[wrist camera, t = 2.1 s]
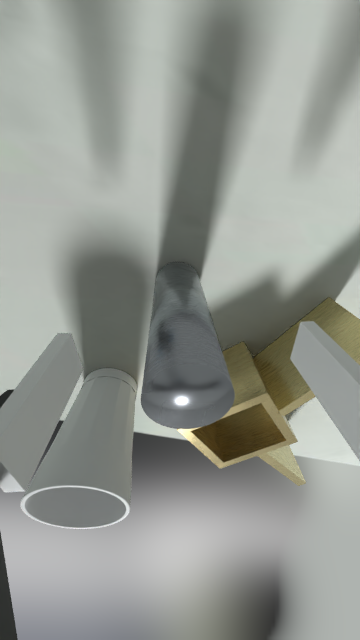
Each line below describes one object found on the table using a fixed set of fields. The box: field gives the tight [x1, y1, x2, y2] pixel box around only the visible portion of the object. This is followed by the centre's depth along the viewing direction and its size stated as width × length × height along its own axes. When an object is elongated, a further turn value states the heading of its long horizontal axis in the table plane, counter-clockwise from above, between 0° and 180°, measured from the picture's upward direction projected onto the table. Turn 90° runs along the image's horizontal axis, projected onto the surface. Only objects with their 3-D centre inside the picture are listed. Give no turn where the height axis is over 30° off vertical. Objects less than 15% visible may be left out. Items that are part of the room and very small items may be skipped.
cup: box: [20, 368, 137, 529], centre depth 22 cm, size 8×8×12 cm
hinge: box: [177, 297, 360, 486], centre depth 26 cm, size 19×18×7 cm
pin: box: [141, 262, 235, 429], centre depth 15 cm, size 4×4×13 cm
